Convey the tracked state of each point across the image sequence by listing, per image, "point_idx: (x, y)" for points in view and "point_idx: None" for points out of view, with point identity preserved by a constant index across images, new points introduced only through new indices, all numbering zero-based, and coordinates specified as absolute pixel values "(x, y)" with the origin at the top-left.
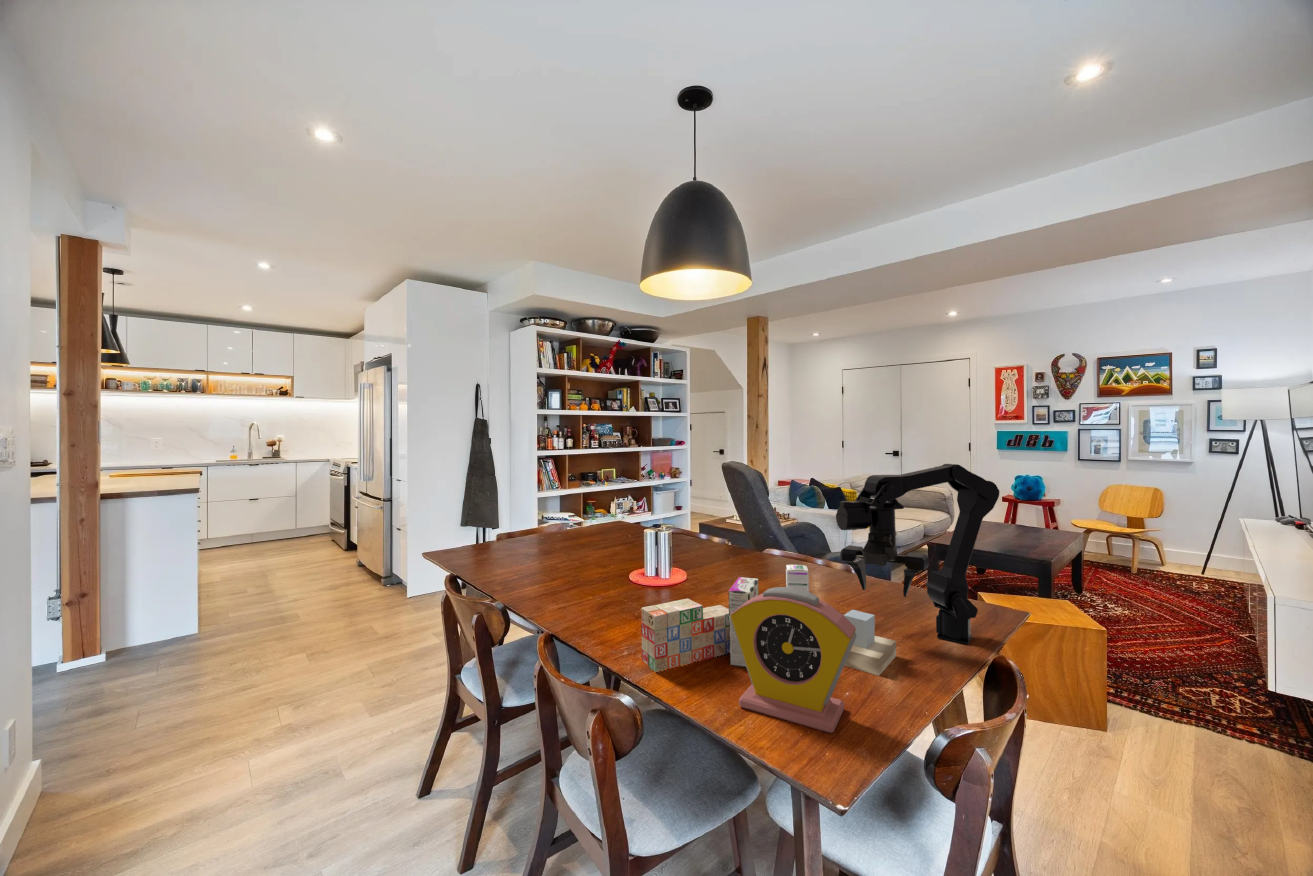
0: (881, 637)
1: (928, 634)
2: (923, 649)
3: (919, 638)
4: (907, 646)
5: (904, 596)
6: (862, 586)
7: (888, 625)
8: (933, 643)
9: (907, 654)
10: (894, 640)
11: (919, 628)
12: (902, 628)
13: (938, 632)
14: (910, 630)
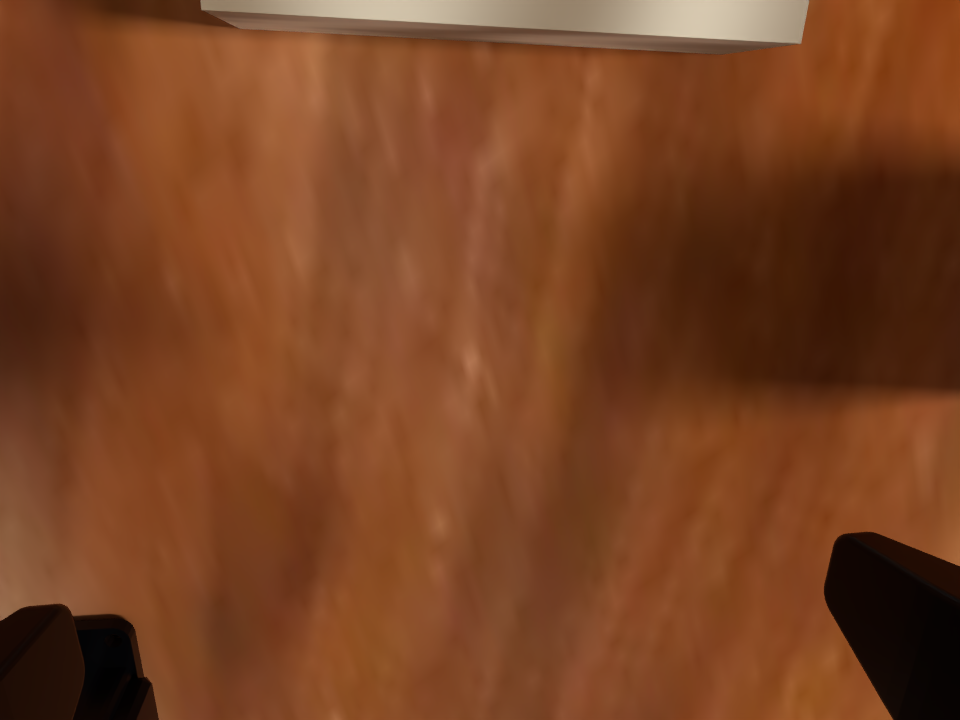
0: (368, 14)
1: (210, 647)
2: (120, 348)
3: (232, 540)
4: (245, 328)
5: (42, 606)
6: (930, 562)
7: (492, 627)
8: (113, 514)
9: (178, 147)
10: (219, 12)
11: (300, 705)
12: (395, 636)
13: (131, 681)
14: (338, 637)
